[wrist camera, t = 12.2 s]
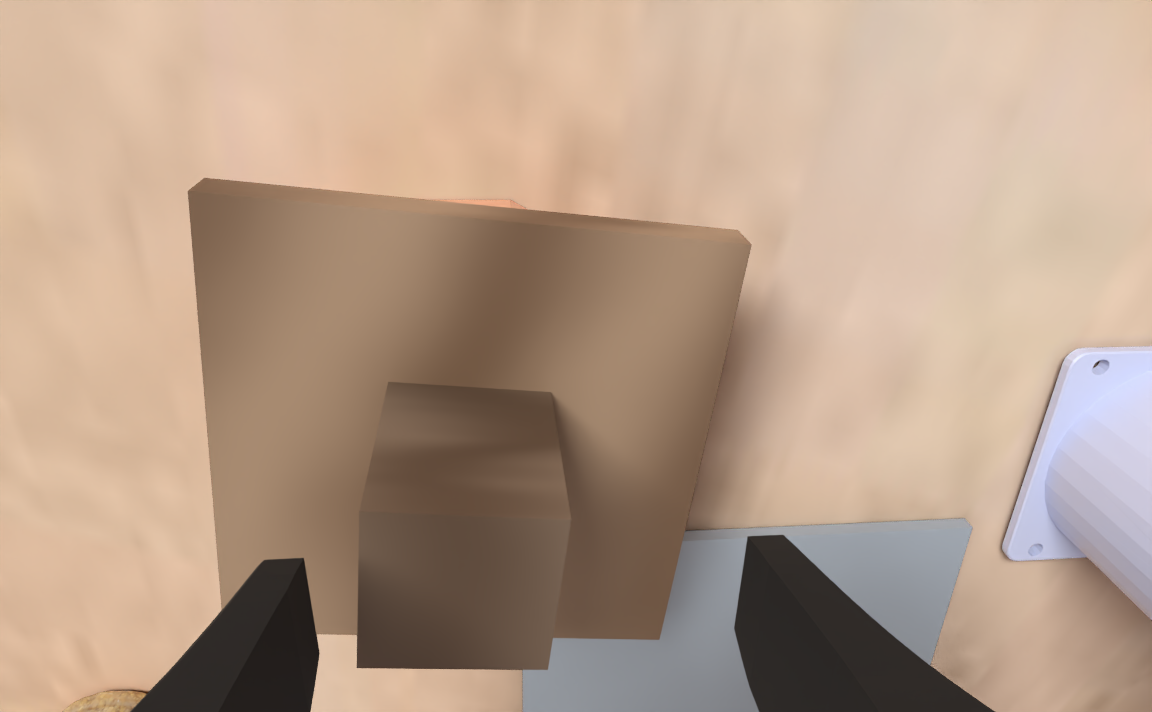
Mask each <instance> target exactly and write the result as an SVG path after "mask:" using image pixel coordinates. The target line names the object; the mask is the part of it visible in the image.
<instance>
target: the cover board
mask: <svg viewBox="0 0 1152 712" xmlns="http://www.w3.org/2000/svg"><path fill="white" fill-rule="evenodd" d="M188 199H189V211H190V223H191V236H192V248H193V260H194V273H195V285H196V297H197V310H198V322H199V334H200V347H201V359H202V371H203V384H204V396H205V408H206V421H207V433H208V445H209V458H210V470H211V483H212V495H213V507H214V520H215V532H216V544H217V557H218V569H219V581H220V594H221V606H222V609H223V608H224V607H225V606H226V605H227V603H228V602H229V601H230V600H231V598H232V597H233V596H234V595H235V594H236V592H237V591H238V590H239V589H240V587H241V586H242V585H243V584H244V582H245V581H246V580H247V579H248V577H249V576H250V575H251V574H252V572H253V571H254V570H255V569H256V568H257V566H258V565H259V564H260V563H261V562H262V561H263V560H269V559H290V558H304V561H305V568H306V574H307V580H308V586H309V592H310V598H311V605H312V611H313V617H314V623H315V629H316V634H337V635H357V668H405V669H499V670H548V666H549V660H550V654H551V647H552V641H553V638H576V639H636V640H660V635H661V631H662V627H663V623H664V618H665V614H666V610H667V605H668V601H669V597H670V593H671V588H672V584H673V580H674V575H675V571H676V567H677V563H678V558H679V554H680V550H681V545H682V541H683V537H684V533H685V528H686V524H687V520H688V515H689V511H690V507H691V503H692V498H693V494H694V490H695V485H696V481H697V477H698V473H699V468H700V464H701V460H702V455H703V451H704V447H705V443H706V438H707V434H708V430H709V425H710V421H711V417H712V412H713V408H714V404H715V400H716V395H717V391H718V387H719V382H720V378H721V374H722V370H723V365H724V361H725V357H726V352H727V348H728V344H729V340H730V335H731V331H732V327H733V322H734V318H735V314H736V310H737V305H738V301H739V297H740V292H741V288H742V284H743V280H744V275H745V271H746V267H747V262H748V258H749V254H750V250H751V243H750V242H749V241H748V240H747V239H746V238H745V237H744V236H743V235H742V234H741V233H740V232H739V231H738V230H731V229H721V228H710V227H700V226H690V225H680V224H670V223H659V222H649V221H639V220H629V219H619V218H608V217H598V216H588V215H578V214H567V213H557V212H547V211H537V210H527V209H516V208H506V207H496V206H486V205H475V204H465V203H455V202H445V201H435V200H424V199H414V198H404V197H394V196H384V195H373V194H363V193H353V192H343V191H332V190H322V189H312V188H302V187H292V186H281V185H271V184H261V183H251V182H240V181H230V180H220V179H210V178H204V179H203V180H201V181H200V182H199V183H198V184H196V185H195V186H194V187H192V188H191V189H190V190H189V191H188Z"/></svg>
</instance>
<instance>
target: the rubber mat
mask: <svg viewBox="0 0 1152 712" xmlns="http://www.w3.org/2000/svg"><path fill="white" fill-rule="evenodd" d="M971 531H972V526H971V525H970V524H969V523H968V522H967V521H966V520H965V518H962V519H939V520H917V521H895V522H873V523H851V524H829V525H806V526H784V527H762V528H740V529H718V530H696V531H685V533H684V537H683V541H682V545H681V550H680V554H679V558H678V563H677V567H676V571H675V575H674V580H673V584H672V588H671V593H670V597H669V601H668V605H667V610H666V614H665V618H664V623H663V627H662V631H661V635H660V640H636V639H576V638H553V641H552V647H551V654H550V660H549V666H548V670H523V712H759V710H758V708H757V705H756V703H755V700H754V697H753V695H752V692H751V690H750V687H749V684H748V680H747V676H746V673H745V669H744V665H743V662H742V658H741V654H740V650H739V646H738V642H737V638H736V634H735V630H734V625H735V618H736V612H737V605H738V598H739V591H740V584H741V578H742V571H743V564H744V557H745V551H746V544H747V537H748V536H763V535H784V536H785V537H786V538H787V539H788V540H790V541H791V542H792V543H793V544H794V545H795V546H796V547H797V548H798V549H799V550H800V551H801V552H802V553H803V554H804V555H805V556H806V557H807V558H808V559H809V560H810V561H812V562H813V563H814V564H815V565H816V566H817V567H818V568H819V569H820V570H821V571H822V572H823V573H824V574H825V575H826V576H827V577H828V578H829V579H830V580H831V581H833V582H834V583H835V584H836V585H837V586H838V587H839V588H840V589H841V590H842V591H843V592H844V593H845V594H846V595H848V596H849V597H850V598H851V599H852V600H853V601H854V602H855V603H856V604H857V605H859V606H860V607H861V608H862V609H863V610H864V611H865V612H866V613H867V614H869V615H870V616H871V617H872V618H873V619H874V620H875V621H877V622H878V623H879V624H880V625H881V626H882V627H884V628H885V629H886V630H887V631H888V632H889V633H891V634H892V635H893V636H894V637H895V638H896V639H898V640H899V641H900V642H901V643H903V644H904V645H905V646H906V647H908V648H909V649H910V650H911V651H913V652H914V653H915V654H916V655H918V656H919V657H920V658H921V659H923V660H924V661H925V662H926V663H928V664H929V665H930V664H931V661H932V658H933V654H934V651H935V648H936V645H937V641H938V638H939V635H940V632H941V628H942V625H943V622H944V619H945V615H946V612H947V609H948V606H949V602H950V599H951V596H952V593H953V590H954V586H955V583H956V580H957V577H958V573H959V570H960V567H961V564H962V560H963V557H964V554H965V551H966V547H967V544H968V541H969V538H970V534H971Z"/></svg>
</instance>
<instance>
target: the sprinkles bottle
mask: <svg viewBox="0 0 1152 712" xmlns="http://www.w3.org/2000/svg"><path fill="white" fill-rule="evenodd" d="M145 695H146V693H143V692H136V691H106V692H101V693H97V694H95V695H92V696H88V697H84V698H82V699H80V700H78V701H76V702H74V703H73V704H71V705H70V706H69V707H68V708H67V709H65V710H64V711H62V712H130V711H131V710H132V709H133V708H134V707H135V706H136V705H137V704H138V703H139V702H140V701H141V700H142V699H143V697H144V696H145Z"/></svg>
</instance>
